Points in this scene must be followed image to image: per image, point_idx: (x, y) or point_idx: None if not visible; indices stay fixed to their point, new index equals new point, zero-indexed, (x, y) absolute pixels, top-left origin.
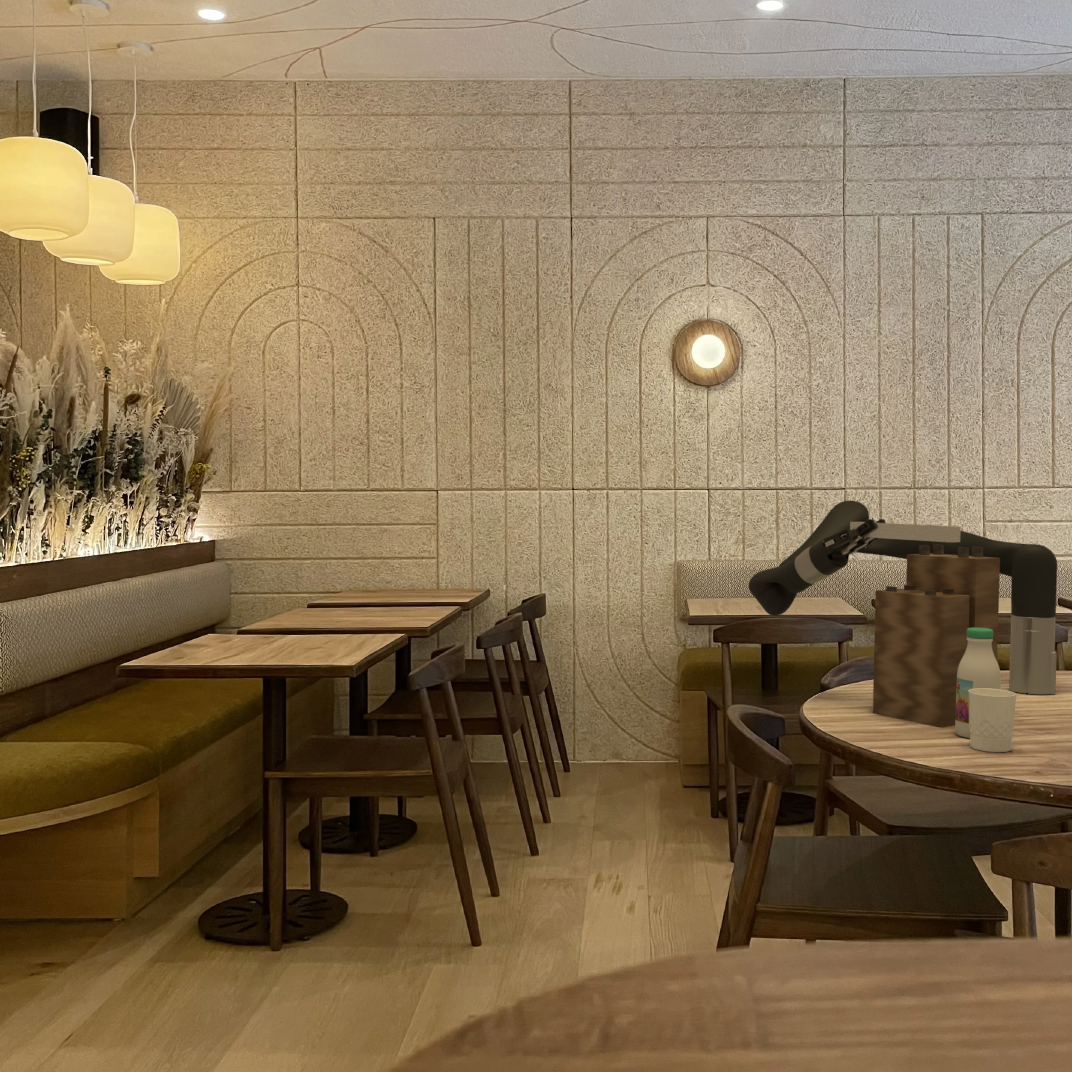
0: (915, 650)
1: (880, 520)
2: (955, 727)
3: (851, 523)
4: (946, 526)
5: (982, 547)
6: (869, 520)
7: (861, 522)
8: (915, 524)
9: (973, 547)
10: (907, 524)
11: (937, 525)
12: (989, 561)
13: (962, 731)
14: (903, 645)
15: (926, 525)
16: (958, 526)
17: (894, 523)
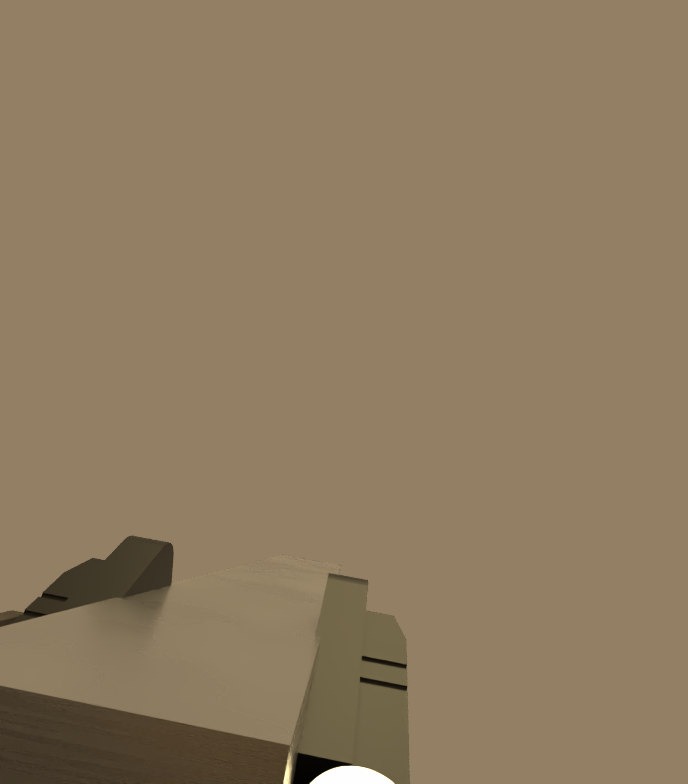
0: None
1: (158, 559)
2: None
3: (280, 776)
4: (338, 566)
5: (16, 612)
6: (366, 597)
7: (314, 654)
8: (253, 565)
9: (4, 621)
10: (310, 577)
11: (270, 558)
12: None
13: None
14: None
15: (329, 571)
16: (286, 555)
17: (210, 575)
